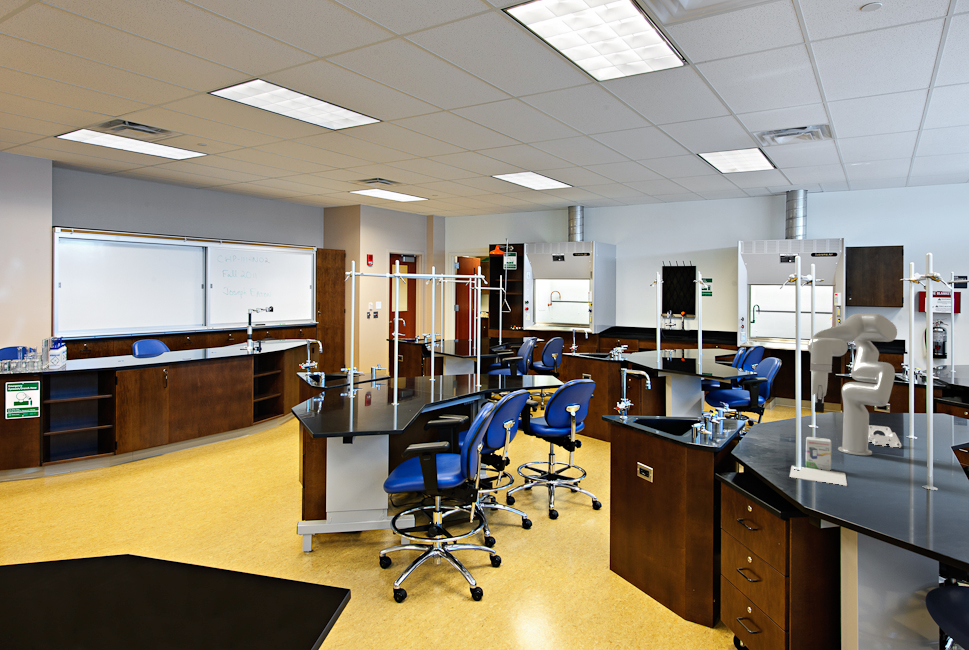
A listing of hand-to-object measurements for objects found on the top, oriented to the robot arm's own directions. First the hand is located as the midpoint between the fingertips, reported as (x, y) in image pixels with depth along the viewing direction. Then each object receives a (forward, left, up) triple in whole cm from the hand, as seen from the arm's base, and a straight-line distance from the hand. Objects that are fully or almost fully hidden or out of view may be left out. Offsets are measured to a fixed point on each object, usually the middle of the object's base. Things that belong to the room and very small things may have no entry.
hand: (819, 412), depth 223 cm
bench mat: (+22, 0, -21) cm, 31 cm away
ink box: (+10, 0, -21) cm, 23 cm away
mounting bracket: (-56, +27, -21) cm, 66 cm away
